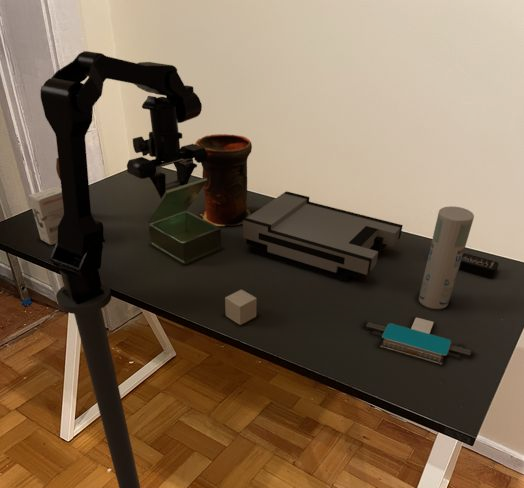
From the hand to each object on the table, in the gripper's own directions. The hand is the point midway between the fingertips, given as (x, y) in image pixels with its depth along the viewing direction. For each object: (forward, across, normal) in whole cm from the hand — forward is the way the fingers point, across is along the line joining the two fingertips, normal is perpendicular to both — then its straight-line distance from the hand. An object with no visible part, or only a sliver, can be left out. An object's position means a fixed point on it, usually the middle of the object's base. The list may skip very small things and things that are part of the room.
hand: (172, 197), depth 123 cm
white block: (+13, +10, +35) cm, 38 cm away
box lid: (+1, 0, +2) cm, 2 cm away
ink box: (+12, +20, -22) cm, 32 cm away
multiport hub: (+13, -43, +55) cm, 71 cm away
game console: (+12, -23, +27) cm, 38 cm away
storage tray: (+12, 0, +4) cm, 12 cm away
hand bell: (+11, +12, -30) cm, 35 cm away
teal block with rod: (+13, -11, +64) cm, 66 cm away
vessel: (+12, -19, -4) cm, 23 cm away
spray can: (+13, -25, +58) cm, 65 cm away
